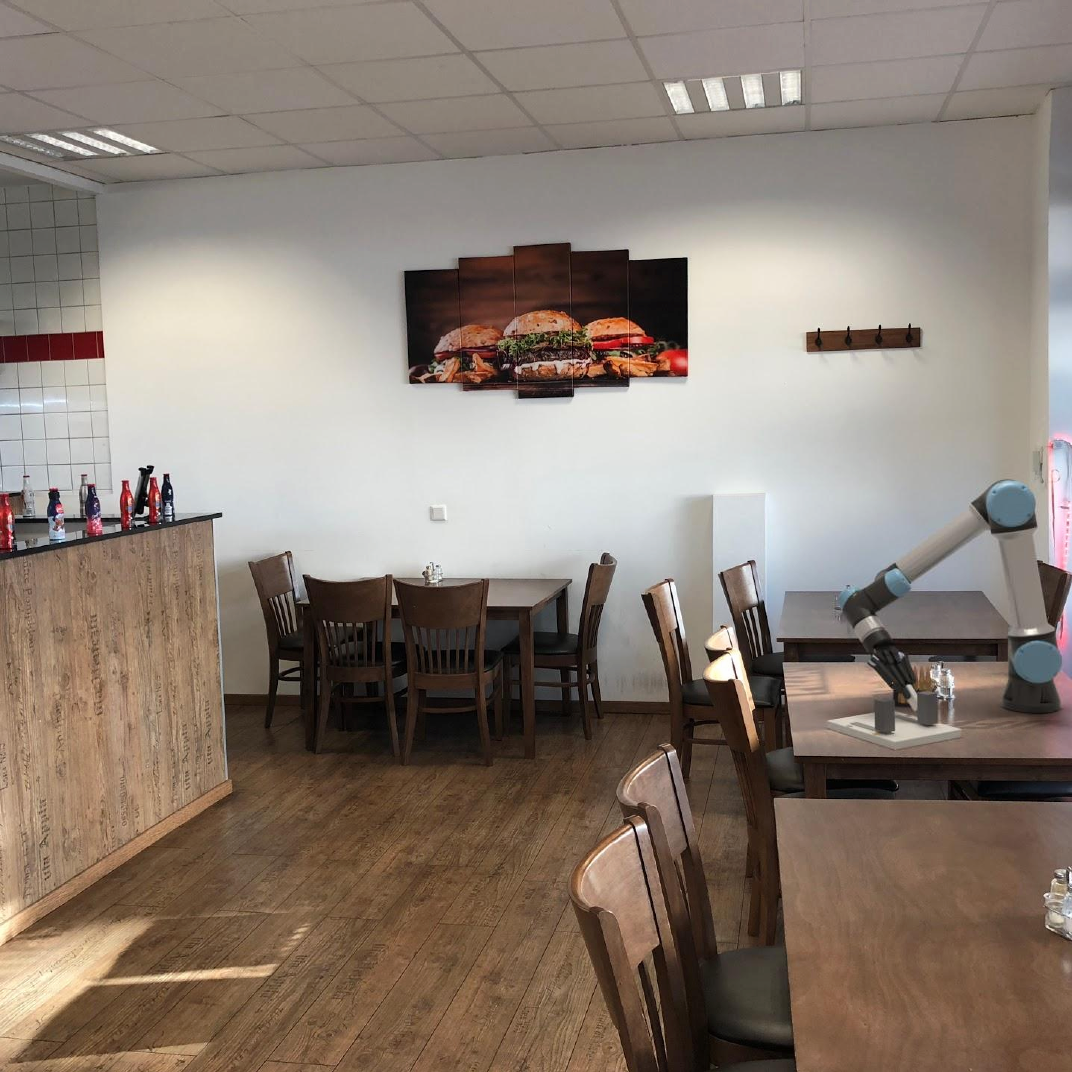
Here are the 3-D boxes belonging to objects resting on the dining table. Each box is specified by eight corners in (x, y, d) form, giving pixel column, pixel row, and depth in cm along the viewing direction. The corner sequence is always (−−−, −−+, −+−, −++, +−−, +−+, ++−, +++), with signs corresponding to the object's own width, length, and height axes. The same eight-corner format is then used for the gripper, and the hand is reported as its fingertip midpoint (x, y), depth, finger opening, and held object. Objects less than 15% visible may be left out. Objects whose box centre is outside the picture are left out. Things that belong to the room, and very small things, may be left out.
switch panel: (826, 728, 302) (826, 720, 302) (890, 716, 311) (890, 708, 311) (895, 749, 278) (894, 741, 278) (961, 737, 287) (961, 728, 287)
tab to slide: (917, 722, 293) (917, 692, 293) (927, 720, 295) (927, 690, 294) (927, 725, 290) (926, 694, 290) (937, 723, 292) (937, 693, 291)
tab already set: (874, 730, 288) (874, 699, 287) (885, 728, 289) (884, 697, 289) (884, 732, 285) (883, 701, 284) (895, 731, 286) (894, 700, 286)
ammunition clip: (932, 707, 320) (931, 665, 319) (932, 708, 318) (931, 666, 317) (893, 705, 324) (892, 664, 323) (892, 706, 323) (891, 665, 322)
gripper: (886, 642, 314) (930, 712, 300) (849, 647, 309) (892, 719, 295) (899, 625, 309) (945, 696, 295) (861, 630, 304) (906, 703, 290)
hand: (918, 707), depth 295 cm, fingers closed
